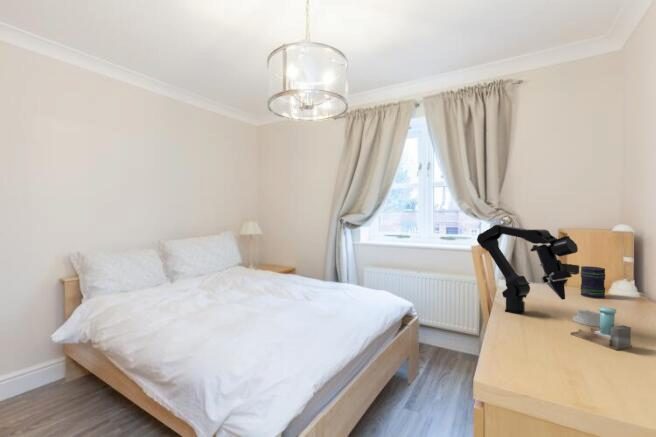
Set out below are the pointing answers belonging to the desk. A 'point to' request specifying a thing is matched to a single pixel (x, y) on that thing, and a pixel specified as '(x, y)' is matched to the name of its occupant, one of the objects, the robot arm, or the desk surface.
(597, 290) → the storage jar
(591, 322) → the mechanical component
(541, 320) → the desk surface
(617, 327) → the mount
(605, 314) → the knob
